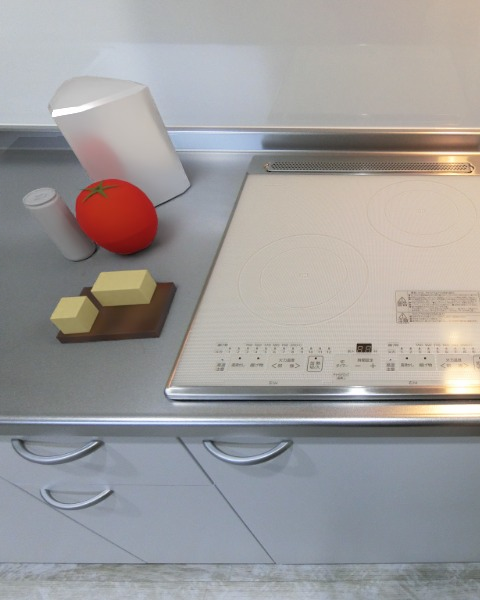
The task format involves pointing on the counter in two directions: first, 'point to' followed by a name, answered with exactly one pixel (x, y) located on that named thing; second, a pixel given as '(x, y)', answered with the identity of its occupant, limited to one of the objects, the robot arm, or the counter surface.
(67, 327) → the butter slice
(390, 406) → the counter surface
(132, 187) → the tomato
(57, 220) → the beverage can
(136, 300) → the butter block
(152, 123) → the white plastic container
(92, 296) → the board
